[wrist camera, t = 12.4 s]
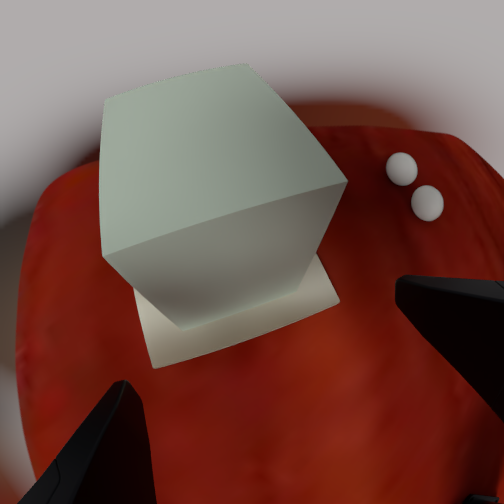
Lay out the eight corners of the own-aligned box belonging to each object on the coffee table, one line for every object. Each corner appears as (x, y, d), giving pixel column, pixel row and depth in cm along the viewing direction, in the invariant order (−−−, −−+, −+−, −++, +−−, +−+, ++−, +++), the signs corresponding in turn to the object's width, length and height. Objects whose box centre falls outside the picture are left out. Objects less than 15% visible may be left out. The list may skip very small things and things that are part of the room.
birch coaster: (337, 304, 17) (340, 301, 16) (156, 368, 15) (153, 368, 14) (267, 170, 22) (267, 164, 21) (124, 213, 20) (121, 209, 19)
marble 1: (411, 179, 22) (424, 158, 20) (405, 198, 21) (420, 176, 18) (385, 163, 23) (396, 140, 20) (377, 180, 22) (389, 157, 19)
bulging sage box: (296, 291, 17) (348, 181, 8) (183, 331, 15) (102, 256, 6) (246, 185, 20) (246, 63, 11) (153, 214, 19) (104, 99, 10)
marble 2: (434, 211, 21) (451, 191, 18) (429, 233, 19) (447, 214, 17) (409, 193, 21) (423, 172, 19) (402, 215, 20) (418, 193, 17)
